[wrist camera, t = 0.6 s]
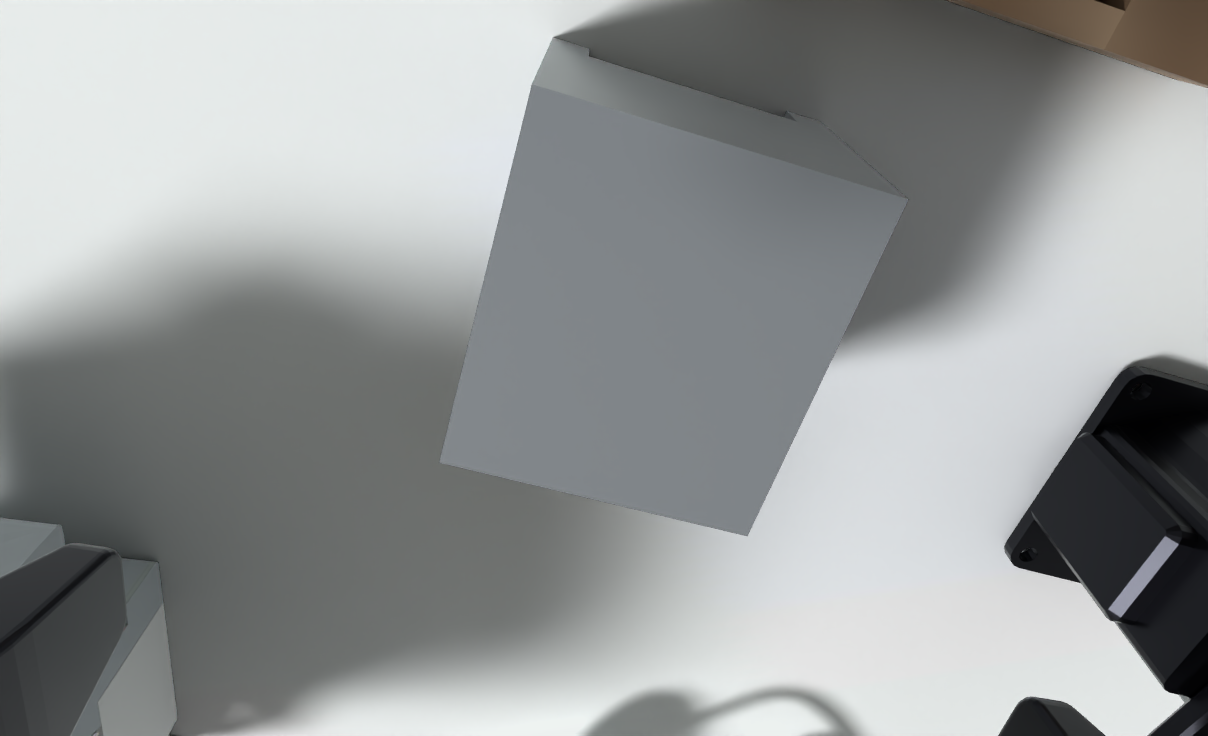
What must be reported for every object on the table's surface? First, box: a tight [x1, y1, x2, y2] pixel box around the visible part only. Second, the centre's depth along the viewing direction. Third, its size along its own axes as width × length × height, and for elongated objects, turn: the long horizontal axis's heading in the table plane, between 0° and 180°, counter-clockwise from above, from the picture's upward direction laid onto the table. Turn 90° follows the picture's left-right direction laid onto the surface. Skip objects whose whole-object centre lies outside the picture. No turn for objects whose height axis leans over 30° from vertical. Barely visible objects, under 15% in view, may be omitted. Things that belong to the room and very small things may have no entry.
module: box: [439, 37, 909, 536], centre depth 17 cm, size 6×8×6 cm
